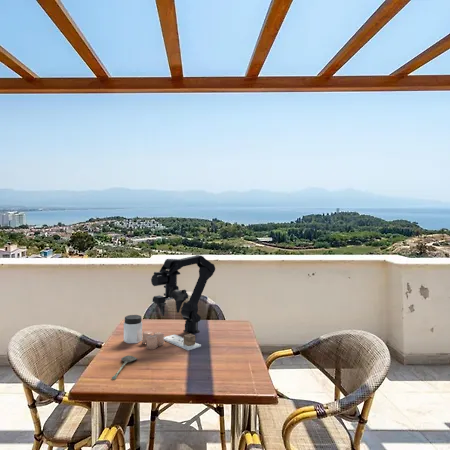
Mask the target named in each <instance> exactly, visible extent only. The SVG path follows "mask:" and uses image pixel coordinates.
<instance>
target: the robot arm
mask: <svg viewBox="0 0 450 450" xmlns="http://www.w3.org/2000/svg"><path fill="white" fill-rule="evenodd" d="M193 265H196V266H197V268H198V279H197V281H196V282H195V286H194V288H193V290H192V293H191V296H190V298H189V294H188V293H187V290H186V289H182V290H180V288H179V285H178V282H177V281H178V275H181V272H180V271H179V270H180V269H182V268H183V267H188V266H193ZM215 271H216V266H215V264H214V263H212V262H211V261H209V260H208V259H206V258H205V257H204V256H203V255H199V254H196V255H194V256H187V257H183V258H166V259H165V260H164V262H163V265H162V266H161V268H160V269H159V271H158V272H157V271H154V272H153V275H152V276H151V278H150V280H151V284H152V286H153V287H159V286H163V288H165V289H164V290H165V292H164V293H163V295H154V296H153V297H152V302H153V303H154V304H156V306H157V307H158V309H159V311H160V313H161V315H162V316H163V317H164V316H165V311H166V310H165V306H166V304H167V303H166V302H167V301H169V300H174V301H175V309H176V310H175V311H176V313H177V314H178V313H181V316H182V319H183V320H185V323H184V330H183V332H184V333H186V334H192V335H194V334H196V333H200V330H199V329H198V327H199V322H200V321H201V319H202V318H201V316H200V314H198V311H199V306H198V305H199V302H200V300H201V298H202V297H201V296H202V294H203V291H204V289H205V287H206V284H207V282H208V280H209V279H210V278H211V277H213V275H214V273H215ZM188 299H189V300H188ZM187 300H188V301H187ZM185 301H187V302H185ZM180 310H181V311H180Z"/></svg>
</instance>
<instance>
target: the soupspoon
mask: <svg viewBox="0 0 450 450" xmlns="http://www.w3.org/2000/svg"><path fill="white" fill-rule="evenodd" d="M121 360H122V362H123V363H122V365H121V366H120V368H119V369H118V371H117V372H116V373H115V374H114V375H112V376H111V379H112V380H117V376H118V375H119V373H120V372H121V370H122V369H124V367H125V365H126V364H128V363H131V362H134V361H135V360H138V358H137V357H136V356H133V355H124V356H123V357H122V358H121Z"/></svg>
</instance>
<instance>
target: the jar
mask: <svg viewBox="0 0 450 450" xmlns="http://www.w3.org/2000/svg"><path fill="white" fill-rule="evenodd" d="M142 334H143V321H142V316H141V315H138V314H129V315H126V316H124V322H123V341H124V343H126V344H130V345H131V344H138V343H140V342H142Z"/></svg>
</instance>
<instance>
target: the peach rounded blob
mask: <svg viewBox="0 0 450 450" xmlns="http://www.w3.org/2000/svg"><path fill="white" fill-rule="evenodd" d="M158 347H159V346H158V342H157V336H156V335H154V334H153V335H150V336H147V345H146V348H147V350H155V349H157V348H158Z"/></svg>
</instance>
